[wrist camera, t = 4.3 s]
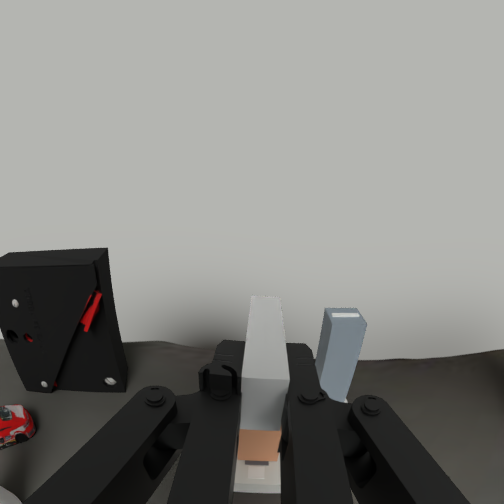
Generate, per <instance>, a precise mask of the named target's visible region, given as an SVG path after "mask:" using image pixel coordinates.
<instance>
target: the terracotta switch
mask: <svg viewBox="0 0 504 504" xmlns="http://www.w3.org/2000/svg"><path fill="white" fill-rule="evenodd" d="M280 438H281V428H280V431H266V430H247V429H240V431H239V445H238V460H250V461H277V460H278V455H279V453H277V451H278V447H279V442H280Z"/></svg>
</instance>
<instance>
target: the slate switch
mask: <svg viewBox="0 0 504 504" xmlns="http://www.w3.org/2000/svg"><path fill="white" fill-rule="evenodd" d="M366 327H367V323H366V322H365V320H364V319H363V317H362V316H361V314H360V313H359V311H358V310H357V308H325V312H324V318H323V324H322V330H321V336H320V341H319V346H318V351H317V357H316V362H315V365H316V369H317V374H318V378H319V382H320V386H321V388H322V389H323V390H324V391H326V392H327V394H328V396H329V398H331V399H333V400H336V401H339V402H344V401H345V398H346V396H347V393H348V390H349V387H350V384H351V380H352V377H353V374H354V371H355V367H356V364H357V361H358V357H359V353H360V350H361V346H362V342H363V338H364V334H365V331H366Z"/></svg>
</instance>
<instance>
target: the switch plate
mask: <svg viewBox="0 0 504 504" xmlns="http://www.w3.org/2000/svg"><path fill="white" fill-rule="evenodd" d="M344 402H345V403H347V400H346V398H345V401H344ZM234 492H248V493H281V481H280V453H279V455H278V460H277V461H250V460H238V454H237V463H236V472H235V482H234Z"/></svg>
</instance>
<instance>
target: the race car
mask: <svg viewBox="0 0 504 504" xmlns="http://www.w3.org/2000/svg"><path fill="white" fill-rule="evenodd" d="M34 425H35V424H34V422H33V419H32V417H31V415H30V414H29V412H28V411H27V410H26V409H25V408H24V407H23V406H22V405H18V404H16V405H8V406H1V407H0V449H2V448H5V447H8V446H11V445H14V444H17V441H18V442H20V443H22V442H24V441H27V436H28V438H30V437H32V435H33V434H34V433H35V428H36V427H35V426H34ZM26 435H27V436H26Z"/></svg>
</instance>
